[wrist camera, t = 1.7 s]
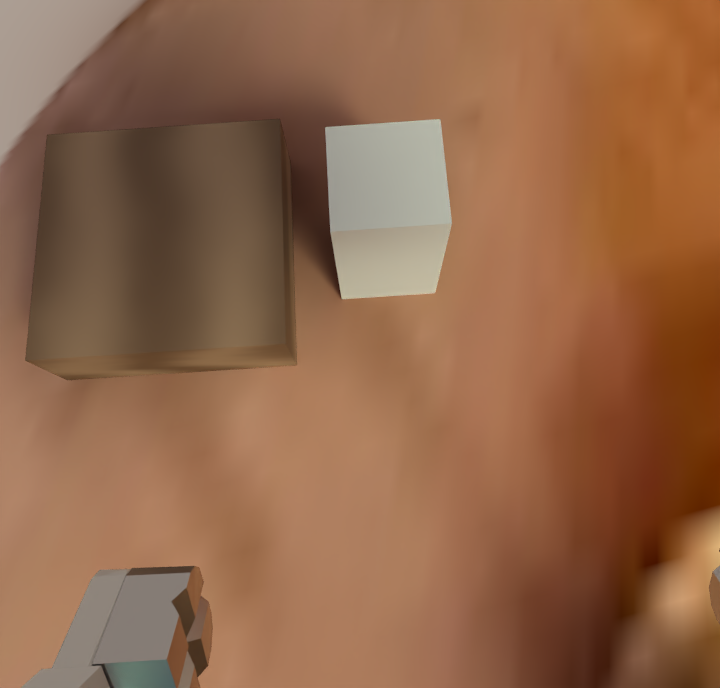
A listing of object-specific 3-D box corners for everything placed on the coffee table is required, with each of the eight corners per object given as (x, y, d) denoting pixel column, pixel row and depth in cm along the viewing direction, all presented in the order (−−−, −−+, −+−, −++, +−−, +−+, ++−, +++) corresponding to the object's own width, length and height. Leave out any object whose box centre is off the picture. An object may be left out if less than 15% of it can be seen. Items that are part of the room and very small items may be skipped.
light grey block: (426, 209, 35) (440, 119, 27) (435, 293, 33) (451, 223, 25) (337, 215, 35) (325, 127, 27) (341, 299, 33) (330, 231, 26)
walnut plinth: (290, 162, 36) (279, 118, 32) (296, 365, 32) (285, 343, 28) (82, 176, 36) (47, 134, 32) (67, 380, 32) (25, 360, 28)
